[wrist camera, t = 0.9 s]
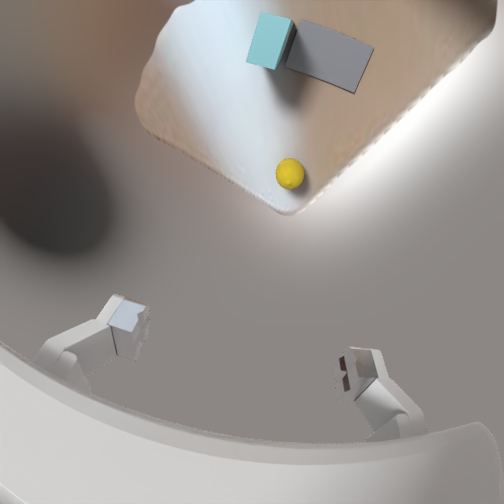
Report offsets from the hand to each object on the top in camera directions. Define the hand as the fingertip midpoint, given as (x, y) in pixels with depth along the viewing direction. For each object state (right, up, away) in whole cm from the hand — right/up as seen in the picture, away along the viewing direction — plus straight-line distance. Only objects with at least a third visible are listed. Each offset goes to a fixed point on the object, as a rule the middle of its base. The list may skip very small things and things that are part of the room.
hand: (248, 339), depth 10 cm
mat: (+13, +37, +25) cm, 47 cm away
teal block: (+4, +40, +25) cm, 47 cm away
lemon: (+8, +22, +44) cm, 50 cm away
